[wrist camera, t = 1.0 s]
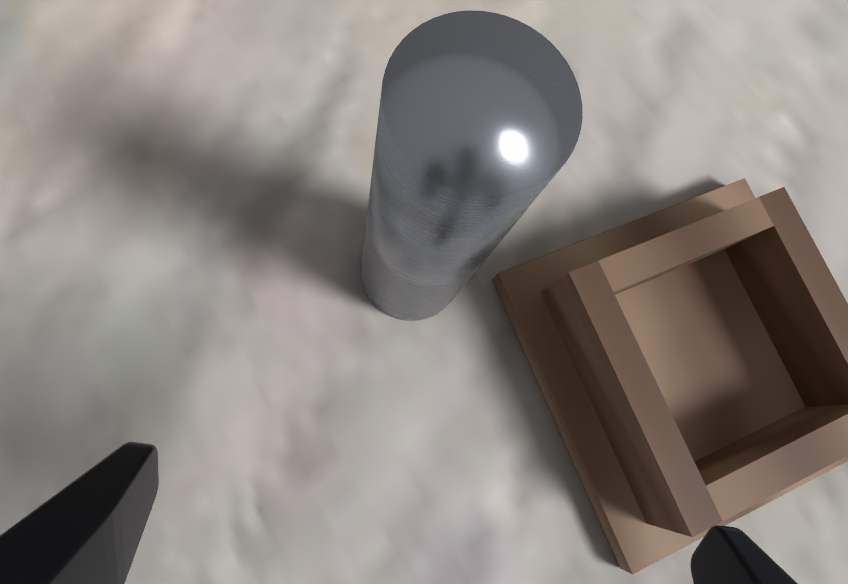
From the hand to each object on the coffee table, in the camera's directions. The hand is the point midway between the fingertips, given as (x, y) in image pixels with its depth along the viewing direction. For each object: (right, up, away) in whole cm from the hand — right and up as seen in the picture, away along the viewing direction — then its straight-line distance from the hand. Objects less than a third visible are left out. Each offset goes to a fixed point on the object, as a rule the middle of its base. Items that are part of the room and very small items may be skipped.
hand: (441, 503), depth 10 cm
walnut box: (+10, +1, +15) cm, 19 cm away
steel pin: (-1, +4, +15) cm, 15 cm away
